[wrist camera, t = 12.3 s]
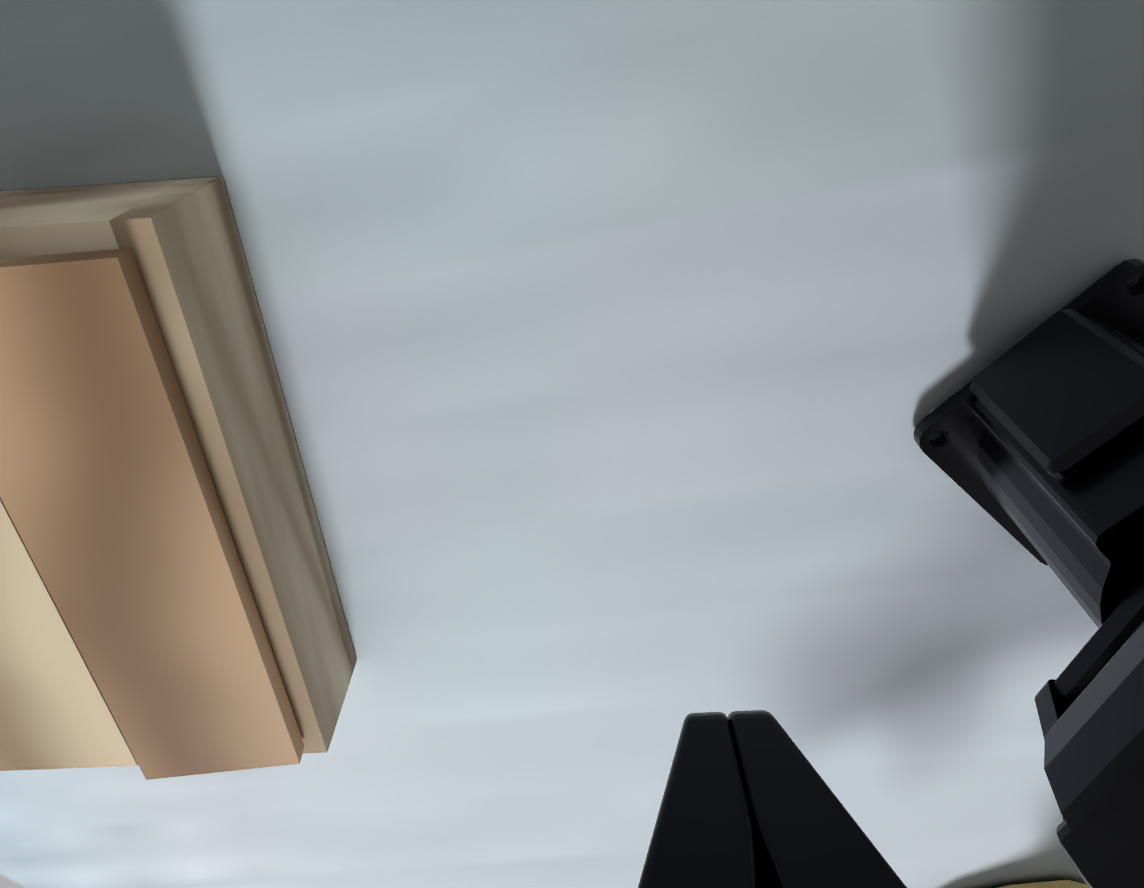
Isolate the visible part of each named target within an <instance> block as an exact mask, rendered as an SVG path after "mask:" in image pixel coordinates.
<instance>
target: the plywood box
mask: <svg viewBox="0 0 1144 888" xmlns="http://www.w3.org/2000/svg"><path fill="white" fill-rule="evenodd" d="M124 248H131V250H132V253H133V256H134V259H135V262H136V265H137V268H138V270H139V273H140V276H141V279H142V282H143V285H144V288H145V291H146V293H147V296H148V299H149V302H150V305H151V308H152V311H153V313H154V316H155V319H156V322H157V325H158V328H159V331H160V333H161V336H162V339H163V342H164V345H165V348H166V351H167V353H168V356H169V359H170V362H171V365H172V368H173V371H174V374H175V376H176V379H177V382H178V385H179V388H180V391H181V394H182V396H183V399H184V402H185V405H186V408H187V411H188V414H189V416H190V419H191V422H192V425H193V428H194V431H195V434H196V436H197V439H198V442H199V445H200V448H201V451H202V454H203V457H204V459H205V462H206V465H207V468H208V471H209V474H210V477H211V479H212V482H213V485H214V488H215V491H216V494H217V497H218V499H219V502H220V505H221V508H222V511H223V514H224V517H225V519H226V522H227V525H228V528H229V531H230V534H231V537H232V539H233V542H234V545H235V548H236V551H237V554H238V557H239V560H240V562H241V565H242V568H243V571H244V574H245V577H246V580H247V582H248V585H249V588H250V591H251V594H252V597H253V600H254V602H255V605H256V608H257V611H258V614H259V617H260V620H261V622H262V625H263V628H264V631H265V634H266V637H267V640H268V643H269V645H270V648H271V651H272V654H273V657H274V660H275V663H276V665H277V668H278V671H279V674H280V677H281V680H282V683H283V685H284V688H285V691H286V694H287V697H288V700H289V703H290V705H291V708H292V711H293V714H294V717H295V720H296V723H297V726H298V728H299V731H300V734H301V737H302V740H303V743H304V749H303V752H302V753H321V752H327V751H328V748H329V745H330V742H331V739H332V736H333V733H334V729H335V726H336V723H337V720H338V717H339V714H340V711H341V708H342V704H343V701H344V698H345V695H346V692H347V689H348V686H349V683H350V680H351V676H352V673H353V670H354V667H355V664H356V661H357V659H356V656H355V652H354V649H353V645H352V641H351V638H350V634H349V631H348V627H347V623H346V620H345V616H344V613H343V609H342V605H341V602H340V598H339V594H338V591H337V587H336V584H335V580H334V576H333V573H332V569H331V566H330V562H329V558H328V555H327V551H326V548H325V544H324V540H323V537H322V533H321V530H320V526H319V522H318V519H317V515H316V512H315V508H314V504H313V501H312V497H311V494H310V490H309V486H308V483H307V479H306V475H305V472H304V468H303V465H302V461H301V457H300V454H299V450H298V447H297V443H296V439H295V436H294V432H293V429H292V425H291V421H290V418H289V414H288V411H287V407H286V403H285V400H284V396H283V393H282V389H281V385H280V382H279V378H278V375H277V371H276V367H275V364H274V360H273V356H272V353H271V349H270V346H269V342H268V338H267V335H266V331H265V328H264V324H263V320H262V317H261V313H260V310H259V306H258V302H257V299H256V295H255V292H254V288H253V284H252V281H251V277H250V274H249V270H248V266H247V263H246V259H245V256H244V252H243V248H242V245H241V241H240V237H239V234H238V230H237V227H236V223H235V219H234V216H233V212H232V209H231V205H230V201H229V198H228V194H227V191H226V187H225V183H224V180H223V177H210V178H194V179H179V180H164V181H149V182H134V183H118V184H103V185H88V186H73V187H58V188H43V189H27V190H12V191H0V259H5V258H17V257H29V256H41V255H53V254H65V253H77V252H89V251H101V250H113V249H124ZM137 765H138V763H137V761H136V759H135V757H134V755H133V753H132V751H131V749H130V747H129V745H128V743H127V741H126V739H125V737H124V736H123V734H122V732H121V730H120V728H119V726H118V724H117V722H116V720H115V718H114V716H113V714H112V712H111V710H110V708H109V707H108V705H107V703H106V701H105V699H104V697H103V695H102V693H101V691H100V689H99V687H98V685H97V683H96V681H95V679H94V677H93V676H92V674H91V672H90V670H89V668H88V666H87V664H86V662H85V660H84V658H83V656H82V654H81V652H80V650H79V648H78V646H77V645H76V643H75V641H74V639H73V637H72V635H71V633H70V631H69V629H68V627H67V625H66V623H65V621H64V619H63V617H62V616H61V614H60V612H59V610H58V608H57V606H56V604H55V602H54V600H53V598H52V596H51V594H50V592H49V590H48V588H47V586H46V585H45V583H44V581H43V579H42V577H41V575H40V573H39V571H38V569H37V567H36V565H35V563H34V561H33V559H32V557H31V555H30V554H29V552H28V550H27V548H26V546H25V544H24V542H23V540H22V538H21V536H20V534H19V532H18V530H17V528H16V526H15V524H14V523H13V521H12V519H11V517H10V515H9V513H8V511H7V509H6V507H5V505H4V503H3V501H2V499H1V497H0V771H8V770H34V769H60V768H86V767H112V766H137Z"/></svg>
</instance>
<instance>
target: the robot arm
mask: <svg viewBox="0 0 1144 888" xmlns="http://www.w3.org/2000/svg"><path fill="white" fill-rule="evenodd" d="M1137 275H1140V277H1139V280H1138V282H1137V283H1136V284H1135V286H1134V287H1132V288H1130V289H1128V290H1127V289H1126V288H1127V285H1128V282H1129V281H1130V280H1131V279H1132V278H1133V277H1135V276H1137ZM937 431H943V433H942V434H941V435H940V437H938V438H936V439H934V440H929V438H930V436H931V435H932V434H933V433H935V432H937ZM914 439H915V441H916V443H917V444H918V445H919V447H920V448H921V450H922V451H923V452H924V453H925V454H926V455H927V456H928V457H929V458H930V459H931V460H932V461H933V462H935V463H936V464H937V465H938V466H939V467H940V468H941V469H942V470H943V471H944V472H945V473H946V474H947V475H948V476H949V477H950V478H952V479H953V480H954V481H955V482H956V483H957V484H958V485H959V486H960V487H961V488H962V489H963V490H964V491H965V492H966V493H968V494H969V495H970V496H971V497H972V498H973V499H974V500H975V501H976V502H977V503H978V504H979V505H980V506H981V507H982V508H983V509H985V510H986V511H987V512H988V513H989V514H990V515H991V516H992V517H993V518H994V519H995V520H996V521H997V522H998V523H999V524H1001V525H1002V526H1003V527H1004V528H1005V529H1006V530H1007V531H1008V532H1009V533H1010V534H1011V535H1012V536H1013V537H1014V538H1015V539H1016V540H1018V541H1019V542H1020V543H1021V544H1022V545H1023V546H1024V547H1025V548H1026V549H1027V550H1028V551H1029V552H1030V553H1031V554H1032V555H1034V556H1035V557H1036V558H1037V559H1038V560H1039V561H1040V562H1041V563H1043V564H1045V565H1049V566H1050V567H1051V569H1052V570H1053V571H1054V572H1055V574H1056V575H1057V576H1058V577H1059V579H1060V580H1061V581H1062V582H1063V584H1064V585H1065V586H1066V587H1067V589H1068V590H1069V591H1070V593H1071V594H1072V595H1073V596H1074V598H1075V599H1076V600H1077V601H1078V603H1079V604H1080V605H1081V606H1082V608H1083V609H1084V610H1085V611H1086V613H1087V614H1088V615H1089V616H1090V618H1091V619H1092V620H1093V621H1094V623H1095V624H1096V625H1097V626H1098V628H1099V629H1098V630H1097V631H1096V633H1095V634H1094V635H1093V636H1092V637H1091V639H1090V640H1089V641H1088V642H1087V643H1086V645H1085V646H1084V647H1083V648H1082V649H1081V651H1080V652H1079V653H1078V654H1077V655H1076V657H1075V658H1074V659H1073V660H1072V661H1071V663H1070V664H1069V665H1068V666H1067V667H1066V669H1065V670H1064V671H1063V672H1062V673H1061V674H1060V676H1059V677H1058V678H1057V679H1056V680H1052V679H1050V680H1049V681H1048V682H1047V683H1046V684H1045V685H1044V687H1043V688H1042V689H1041V690H1040V691H1039V693H1038V694H1037V695H1036V696H1035V702H1036V706H1037V710H1038V715H1039V719H1040V723H1041V727H1042V732H1043V736H1044V740H1045V758H1044V769H1045V772H1046V774H1047V777H1048V780H1049V782H1050V785H1051V788H1052V790H1053V793H1054V795H1055V798H1056V801H1057V803H1058V806H1059V809H1060V811H1061V814H1062V816H1063V820H1064V821H1063V822H1062V823H1061V824H1060V825H1059V826H1058V827H1057V835H1058V838H1059V840H1060V843H1061V845H1062V848H1063V850H1064V852H1065V853H1066V855H1067V856H1068V858H1069V859H1070V861H1071V862H1072V863H1073V865H1074V866H1075V868H1076V869H1077V871H1078V872H1079V874H1080V875H1081V877H1082V878H1083V879H1084V881H1085V882H1086V884H1087V885H1088V887H1089V888H1144V260H1140V259H1131V260H1126V261H1124V262H1122V263H1121V264H1119V265H1117V266H1116V267H1115V268H1113V269H1112V270H1111V271H1110V272H1108V273H1107V274H1106V275H1105V276H1103V277H1102V278H1101V279H1099V280H1098V281H1097V282H1096V283H1094V284H1093V285H1092V286H1091V287H1089V288H1088V289H1087V290H1086V291H1084V292H1083V293H1082V294H1081V295H1079V296H1078V297H1077V298H1075V299H1074V300H1073V301H1072V302H1070V303H1069V304H1068V305H1067V306H1065V307H1064V308H1063V309H1062V310H1060V311H1058V312H1056V313H1055V314H1053V315H1052V316H1051V317H1050V318H1048V319H1047V320H1046V321H1045V322H1043V323H1042V324H1041V325H1040V326H1038V327H1037V328H1036V329H1035V330H1033V331H1032V332H1031V333H1030V334H1028V335H1027V336H1026V337H1024V338H1023V339H1022V340H1021V341H1019V342H1018V343H1017V344H1016V345H1014V346H1013V347H1012V348H1011V349H1009V350H1008V351H1007V352H1006V353H1004V354H1003V355H1002V356H1000V357H999V358H998V359H997V360H995V361H994V362H993V363H992V364H990V365H989V366H988V367H987V368H985V369H984V370H983V371H982V372H980V373H979V374H978V375H977V376H975V377H974V379H973V380H972V381H971V382H969V383H968V384H967V385H966V386H964V387H963V388H962V389H961V390H959V391H958V392H957V393H956V394H954V395H953V396H952V397H950V398H949V399H948V400H947V401H945V402H944V403H943V404H942V405H940V406H939V407H938V408H937V409H935V410H934V411H933V412H932V413H930V414H929V415H928V416H927V417H925V418H924V419H923V420H921V422H920V423H919V424H918V425H917V426H916V428H915V431H914ZM638 888H907V887H906V886H905V885H904V884H903V882H902V881H901V880H900V878H899V877H898V876H897V875H896V873H895V872H894V871H893V869H892V868H891V867H890V866H889V864H888V863H887V862H886V860H885V859H884V858H883V857H882V855H881V854H880V853H879V851H878V850H877V849H876V848H875V846H874V845H873V844H872V842H871V841H870V840H869V839H868V837H867V836H866V835H865V833H864V832H863V831H862V830H861V828H860V827H859V826H858V824H857V823H856V822H855V821H854V819H853V818H852V817H851V815H850V814H849V813H848V812H847V810H846V809H845V808H844V806H843V805H842V804H841V803H840V801H839V800H838V799H837V797H836V796H835V795H834V794H833V792H832V791H831V790H830V788H829V787H828V786H827V785H826V783H825V782H824V781H823V779H822V778H821V777H820V776H819V774H818V773H817V772H816V770H815V769H814V768H813V767H812V765H811V764H810V763H809V761H808V760H807V759H806V758H805V756H804V755H803V754H802V752H801V751H800V750H799V749H798V747H797V746H796V745H795V743H794V742H793V741H792V740H791V738H790V737H789V736H788V734H787V733H786V732H785V731H784V729H783V728H782V727H781V725H780V724H779V723H778V722H777V720H776V719H775V718H774V717H773V716H772V715H771V714H770V713H769V712H767V711H763V710H755V711H734V712H732V713H730V714H729V716H728V718H727V716H726V715H725V714H724V713H721V712H707V713H691V714H689V715H687V716H686V718H685V720H684V723H683V727H682V730H681V734H680V738H679V741H678V745H677V749H676V752H675V756H674V759H673V763H672V767H671V770H670V774H669V778H668V781H667V785H666V789H665V792H664V796H663V799H662V803H661V807H660V810H659V814H658V818H657V821H656V825H655V828H654V832H653V836H652V839H651V843H650V847H649V850H648V854H647V857H646V861H645V865H644V868H643V872H642V875H641V879H640V883H639V886H638Z"/></svg>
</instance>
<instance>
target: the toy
mask: <svg viewBox="0 0 1144 888" xmlns="http://www.w3.org/2000/svg"><path fill="white" fill-rule="evenodd" d="M997 888H1089V887H1088V885H1087V884H1084V883H1079V882H1075V881H1071V880H1057V881H1046V882H1035V883H1024V884H1013V885H1007V886H1002V887H997Z"/></svg>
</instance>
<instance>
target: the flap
mask: <svg viewBox="0 0 1144 888" xmlns="http://www.w3.org/2000/svg"><path fill="white" fill-rule="evenodd" d="M0 497H1V499H2V501H3V503H4V505H5V507H6V509H7V511H8V513H9V515H10V517H11V519H12V521H13V523H14V524H15V526H16V528H17V530H18V532H19V534H20V536H21V538H22V540H23V542H24V544H25V546H26V548H27V550H28V552H29V554H30V555H31V557H32V559H33V561H34V563H35V565H36V567H37V569H38V571H39V573H40V575H41V577H42V579H43V581H44V583H45V585H46V586H47V588H48V590H49V592H50V594H51V596H52V598H53V600H54V602H55V604H56V606H57V608H58V610H59V612H60V614H61V616H62V617H63V619H64V621H65V623H66V625H67V627H68V629H69V631H70V633H71V635H72V637H73V639H74V641H75V643H76V645H77V646H78V648H79V650H80V652H81V654H82V656H83V658H84V660H85V662H86V664H87V666H88V668H89V670H90V672H91V674H92V676H93V677H94V679H95V681H96V683H97V685H98V687H99V689H100V691H101V693H102V695H103V697H104V699H105V701H106V703H107V705H108V707H109V708H110V710H111V712H112V714H113V716H114V718H115V720H116V722H117V724H118V726H119V728H120V730H121V732H122V734H123V736H124V737H125V739H126V741H127V743H128V745H129V747H130V749H131V751H132V753H133V755H134V757H135V759H136V761H137V763H138V765H139V767H140V768H141V770H142V772H143V774H144V776H145V778H146V780H148V779H157V778H167V777H176V776H186V775H195V774H205V773H214V772H224V771H233V770H243V769H252V768H262V767H271V766H281V765H290V764H300V760H301V756H302V752H303V749H304V743H303V740H302V737H301V734H300V731H299V728H298V726H297V723H296V720H295V717H294V714H293V711H292V708H291V705H290V703H289V700H288V697H287V694H286V691H285V688H284V685H283V683H282V680H281V677H280V674H279V671H278V668H277V665H276V663H275V660H274V657H273V654H272V651H271V648H270V645H269V643H268V640H267V637H266V634H265V631H264V628H263V625H262V622H261V620H260V617H259V614H258V611H257V608H256V605H255V602H254V600H253V597H252V594H251V591H250V588H249V585H248V582H247V580H246V577H245V574H244V571H243V568H242V565H241V562H240V560H239V557H238V554H237V551H236V548H235V545H234V542H233V539H232V537H231V534H230V531H229V528H228V525H227V522H226V519H225V517H224V514H223V511H222V508H221V505H220V502H219V499H218V497H217V494H216V491H215V488H214V485H213V482H212V479H211V477H210V474H209V471H208V468H207V465H206V462H205V459H204V457H203V454H202V451H201V448H200V445H199V442H198V439H197V436H196V434H195V431H194V428H193V425H192V422H191V419H190V416H189V414H188V411H187V408H186V405H185V402H184V399H183V396H182V394H181V391H180V388H179V385H178V382H177V379H176V376H175V374H174V371H173V368H172V365H171V362H170V359H169V356H168V353H167V351H166V348H165V345H164V342H163V339H162V336H161V333H160V331H159V328H158V325H157V322H156V319H155V316H154V313H153V311H152V308H151V305H150V302H149V299H148V296H147V293H146V291H145V288H144V285H143V282H142V279H141V276H140V273H139V270H138V268H137V265H136V262H135V259H134V256H133V253H132V250H131V248H124V249H113V250H101V251H89V252H77V253H65V254H53V255H41V256H29V257H17V258H5V259H0Z"/></svg>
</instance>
